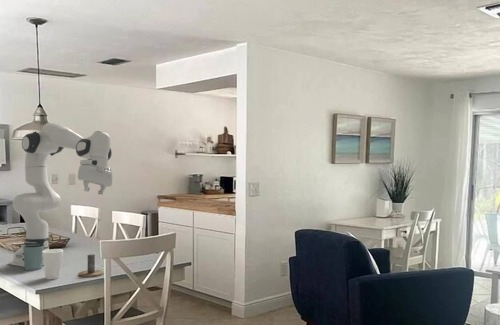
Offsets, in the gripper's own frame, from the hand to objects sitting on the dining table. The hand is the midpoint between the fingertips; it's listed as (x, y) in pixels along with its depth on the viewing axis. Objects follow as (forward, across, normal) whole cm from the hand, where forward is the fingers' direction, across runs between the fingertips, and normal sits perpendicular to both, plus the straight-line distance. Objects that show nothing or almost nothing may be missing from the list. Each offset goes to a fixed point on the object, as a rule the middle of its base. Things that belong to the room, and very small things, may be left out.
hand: (93, 192), depth 230 cm
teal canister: (+39, -14, -46) cm, 62 cm away
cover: (+39, -18, -10) cm, 44 cm away
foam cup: (+41, -5, -22) cm, 47 cm away
